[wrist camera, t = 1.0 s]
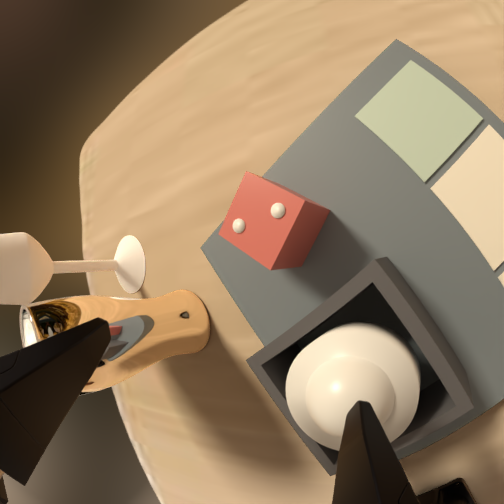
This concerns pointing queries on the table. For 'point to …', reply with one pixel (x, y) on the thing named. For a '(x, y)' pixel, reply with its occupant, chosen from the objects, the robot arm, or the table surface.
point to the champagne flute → (59, 267)
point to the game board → (391, 242)
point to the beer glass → (124, 329)
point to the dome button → (353, 381)
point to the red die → (272, 223)
